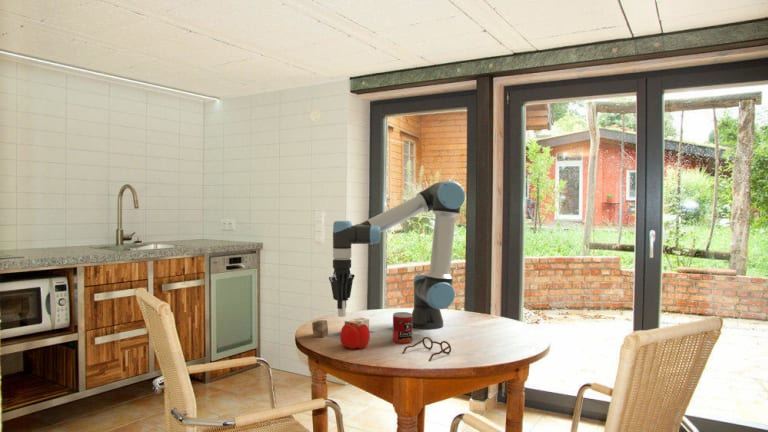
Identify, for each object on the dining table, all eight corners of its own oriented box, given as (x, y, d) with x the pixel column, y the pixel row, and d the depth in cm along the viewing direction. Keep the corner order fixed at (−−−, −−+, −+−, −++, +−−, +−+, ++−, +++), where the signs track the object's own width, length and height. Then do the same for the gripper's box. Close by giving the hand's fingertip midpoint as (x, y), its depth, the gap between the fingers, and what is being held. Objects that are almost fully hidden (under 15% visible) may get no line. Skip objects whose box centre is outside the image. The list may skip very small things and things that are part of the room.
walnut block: (328, 334, 212) (327, 320, 213) (323, 337, 208) (321, 322, 208) (318, 334, 214) (317, 320, 214) (313, 337, 210) (312, 322, 210)
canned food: (398, 345, 199) (399, 316, 199) (389, 340, 206) (389, 312, 206) (415, 342, 203) (416, 315, 203) (405, 338, 210) (406, 311, 210)
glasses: (451, 355, 188) (451, 341, 188) (429, 363, 178) (429, 348, 178) (423, 348, 197) (424, 335, 197) (400, 355, 187) (401, 341, 187)
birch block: (353, 335, 213) (369, 330, 220) (353, 323, 212) (369, 319, 220) (344, 333, 216) (360, 328, 223) (344, 321, 216) (360, 317, 223)
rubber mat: (375, 332, 219) (375, 331, 219) (344, 341, 204) (344, 340, 204) (355, 328, 226) (355, 327, 226) (324, 336, 211) (324, 335, 211)
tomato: (333, 348, 194) (334, 324, 194) (355, 342, 203) (356, 319, 203) (354, 353, 187) (354, 329, 187) (376, 347, 196) (376, 323, 196)
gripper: (346, 256, 218) (346, 312, 218) (324, 259, 208) (323, 317, 208) (359, 258, 213) (359, 315, 213) (337, 260, 203) (337, 320, 203)
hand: (341, 316), depth 211 cm, fingers closed
